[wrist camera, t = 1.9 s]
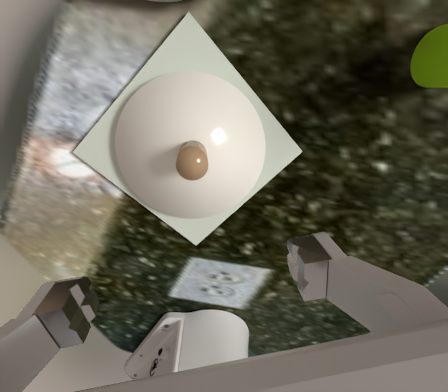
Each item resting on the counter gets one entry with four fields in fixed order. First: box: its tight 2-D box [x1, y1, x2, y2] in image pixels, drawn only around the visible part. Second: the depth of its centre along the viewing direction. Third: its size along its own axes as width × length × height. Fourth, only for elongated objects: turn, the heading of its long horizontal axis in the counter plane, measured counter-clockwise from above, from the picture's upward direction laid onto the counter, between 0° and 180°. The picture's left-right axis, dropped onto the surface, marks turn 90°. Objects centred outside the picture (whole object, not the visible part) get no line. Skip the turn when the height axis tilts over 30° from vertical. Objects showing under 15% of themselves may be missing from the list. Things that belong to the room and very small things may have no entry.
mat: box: [72, 12, 302, 245], centre depth 27 cm, size 18×18×1 cm
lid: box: [115, 71, 266, 219], centre depth 24 cm, size 16×16×5 cm
